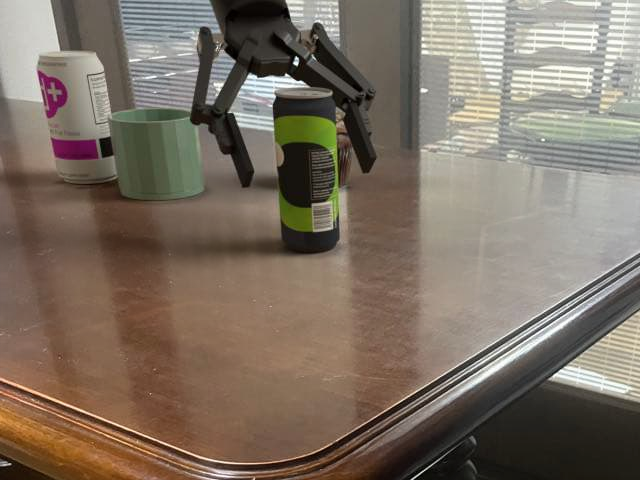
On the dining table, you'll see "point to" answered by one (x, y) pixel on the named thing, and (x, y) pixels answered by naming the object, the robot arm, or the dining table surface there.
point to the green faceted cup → (156, 153)
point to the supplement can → (77, 115)
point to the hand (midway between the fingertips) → (311, 172)
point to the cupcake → (343, 149)
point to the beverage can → (307, 168)
